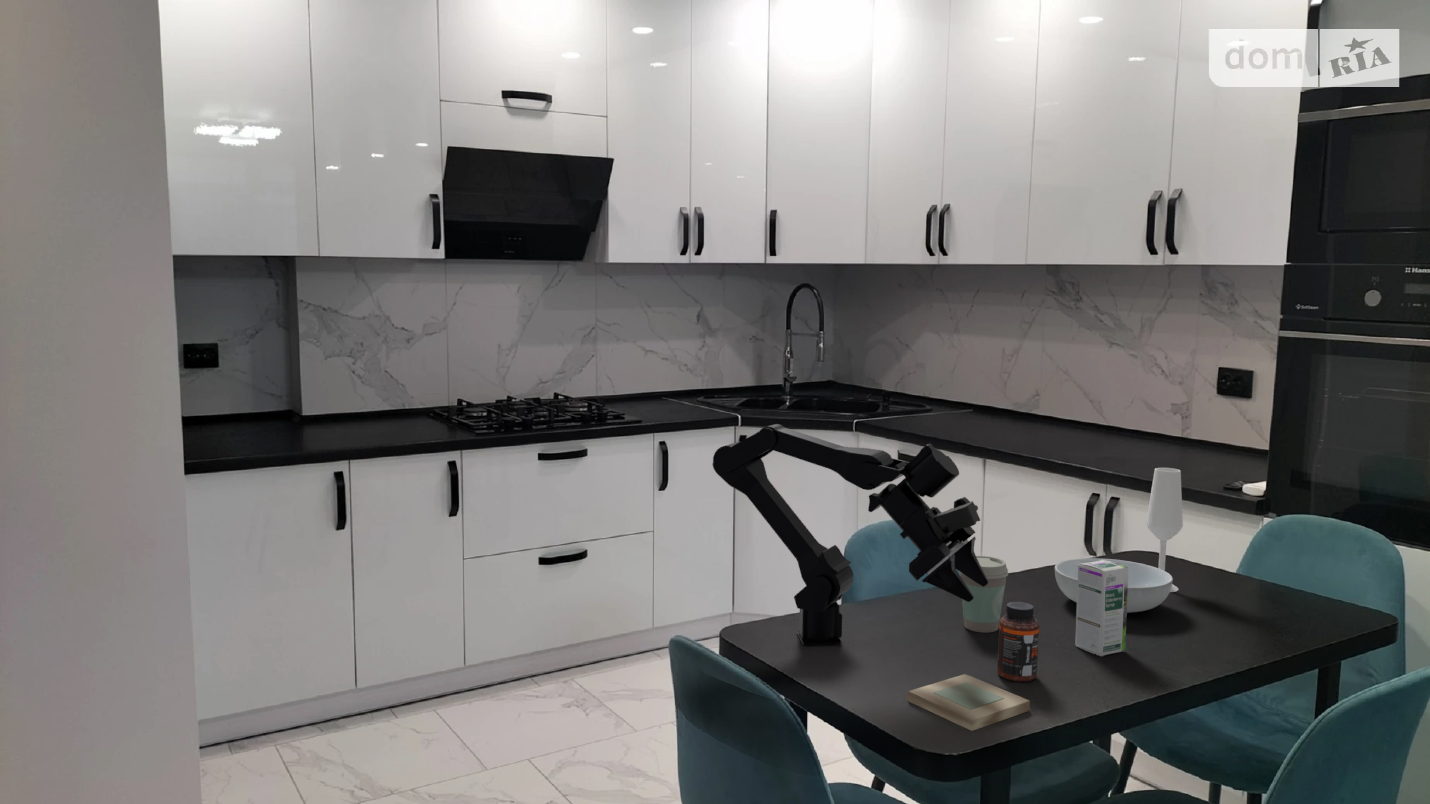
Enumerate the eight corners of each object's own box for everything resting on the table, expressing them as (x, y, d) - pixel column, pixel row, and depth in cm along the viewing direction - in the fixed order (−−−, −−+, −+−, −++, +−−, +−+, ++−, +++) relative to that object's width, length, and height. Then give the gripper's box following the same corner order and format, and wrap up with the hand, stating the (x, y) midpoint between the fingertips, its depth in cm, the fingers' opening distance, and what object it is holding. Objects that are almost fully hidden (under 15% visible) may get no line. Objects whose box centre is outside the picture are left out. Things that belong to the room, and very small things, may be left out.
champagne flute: (1155, 580, 212) (1162, 465, 209) (1185, 588, 206) (1193, 471, 203) (1135, 585, 208) (1142, 468, 205) (1165, 594, 202) (1172, 474, 200)
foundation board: (971, 730, 140) (972, 719, 139) (908, 701, 149) (908, 690, 149) (1029, 710, 146) (1029, 700, 146) (964, 683, 156) (965, 673, 156)
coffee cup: (997, 638, 176) (1000, 570, 175) (949, 629, 181) (951, 563, 179) (1012, 625, 183) (1014, 559, 182) (965, 616, 188) (967, 552, 186)
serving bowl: (1178, 602, 198) (1181, 567, 197) (1160, 632, 180) (1162, 594, 180) (1068, 584, 209) (1069, 551, 208) (1040, 611, 191) (1041, 575, 191)
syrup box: (1101, 657, 168) (1105, 570, 166) (1073, 646, 173) (1077, 561, 171) (1125, 651, 170) (1130, 566, 169) (1097, 640, 176) (1102, 558, 174)
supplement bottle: (1038, 685, 156) (1042, 612, 155) (998, 681, 157) (1001, 609, 156) (1034, 670, 162) (1038, 600, 160) (995, 667, 163) (998, 598, 162)
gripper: (931, 494, 153) (1003, 576, 149) (964, 474, 170) (1030, 548, 166) (879, 539, 158) (948, 620, 154) (916, 515, 174) (979, 588, 170)
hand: (979, 592), depth 161 cm, fingers open, 9 cm apart
